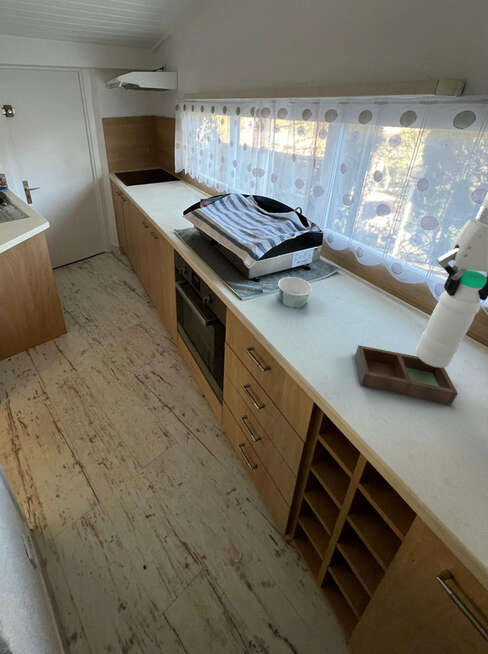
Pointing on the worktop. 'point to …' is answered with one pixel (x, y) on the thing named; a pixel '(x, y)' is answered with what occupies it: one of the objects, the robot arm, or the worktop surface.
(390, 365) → the tray
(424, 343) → the water bottle
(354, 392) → the worktop surface
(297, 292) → the food container
